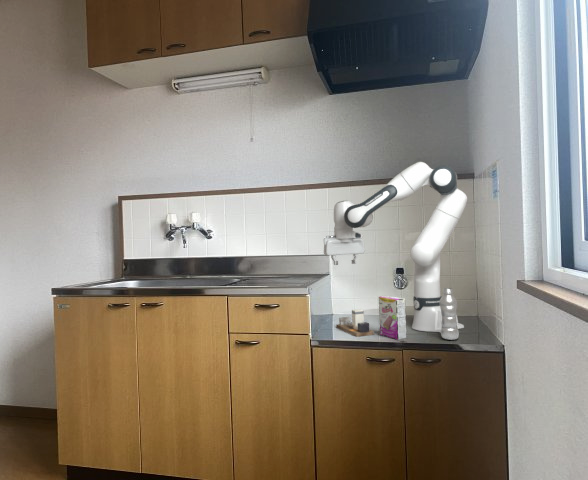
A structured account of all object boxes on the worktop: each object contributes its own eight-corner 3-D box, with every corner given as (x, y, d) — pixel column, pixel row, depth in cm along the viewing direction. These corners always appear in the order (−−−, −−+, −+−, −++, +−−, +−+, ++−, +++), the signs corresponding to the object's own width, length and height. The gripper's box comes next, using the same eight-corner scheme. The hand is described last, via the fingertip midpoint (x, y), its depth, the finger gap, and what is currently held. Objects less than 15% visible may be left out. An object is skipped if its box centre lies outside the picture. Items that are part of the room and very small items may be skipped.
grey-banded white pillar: (360, 327, 183) (360, 308, 183) (364, 328, 180) (363, 310, 180) (352, 328, 182) (351, 309, 182) (355, 329, 179) (355, 310, 179)
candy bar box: (379, 335, 176) (377, 296, 175) (388, 333, 178) (386, 295, 178) (398, 340, 166) (396, 299, 166) (407, 338, 168) (405, 298, 168)
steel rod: (348, 323, 195) (348, 315, 195) (369, 331, 176) (369, 323, 176) (340, 324, 193) (340, 316, 193) (360, 332, 175) (360, 324, 175)
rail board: (352, 325, 196) (351, 316, 196) (373, 334, 177) (373, 324, 177) (336, 327, 193) (336, 318, 193) (356, 336, 174) (356, 326, 174)
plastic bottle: (460, 341, 160) (458, 289, 160) (442, 341, 162) (440, 290, 162) (457, 337, 167) (455, 287, 167) (439, 337, 168) (437, 287, 168)
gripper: (326, 235, 192) (327, 265, 192) (365, 234, 198) (366, 263, 198) (320, 236, 198) (322, 265, 198) (359, 234, 204) (360, 262, 204)
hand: (344, 264), depth 198 cm, fingers open, 8 cm apart
